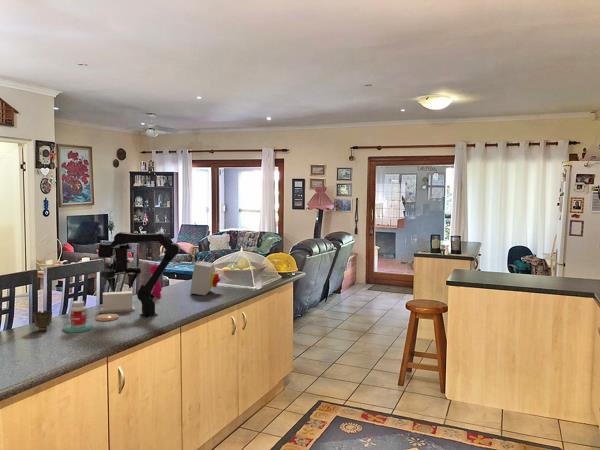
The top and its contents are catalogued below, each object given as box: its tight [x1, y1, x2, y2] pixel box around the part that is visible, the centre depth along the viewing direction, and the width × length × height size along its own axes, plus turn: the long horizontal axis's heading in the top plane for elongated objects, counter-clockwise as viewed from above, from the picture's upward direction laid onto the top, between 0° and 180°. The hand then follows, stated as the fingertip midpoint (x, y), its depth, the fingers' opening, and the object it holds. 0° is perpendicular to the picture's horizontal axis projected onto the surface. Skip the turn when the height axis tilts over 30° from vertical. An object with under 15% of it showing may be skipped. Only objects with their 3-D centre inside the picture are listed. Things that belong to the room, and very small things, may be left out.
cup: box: [32, 309, 53, 332], centre depth 212 cm, size 8×7×8 cm
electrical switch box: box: [189, 260, 221, 296], centre depth 294 cm, size 15×15×20 cm
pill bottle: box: [70, 300, 87, 328], centre depth 216 cm, size 6×6×11 cm
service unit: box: [100, 290, 136, 314], centre depth 249 cm, size 7×16×9 cm, turn 110°
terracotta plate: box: [95, 313, 120, 322], centre depth 234 cm, size 10×10×1 cm
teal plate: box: [62, 322, 94, 334], centre depth 216 cm, size 12×12×1 cm
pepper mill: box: [149, 262, 163, 299], centre depth 282 cm, size 7×7×20 cm
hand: (121, 289), depth 238 cm, fingers open, 9 cm apart
